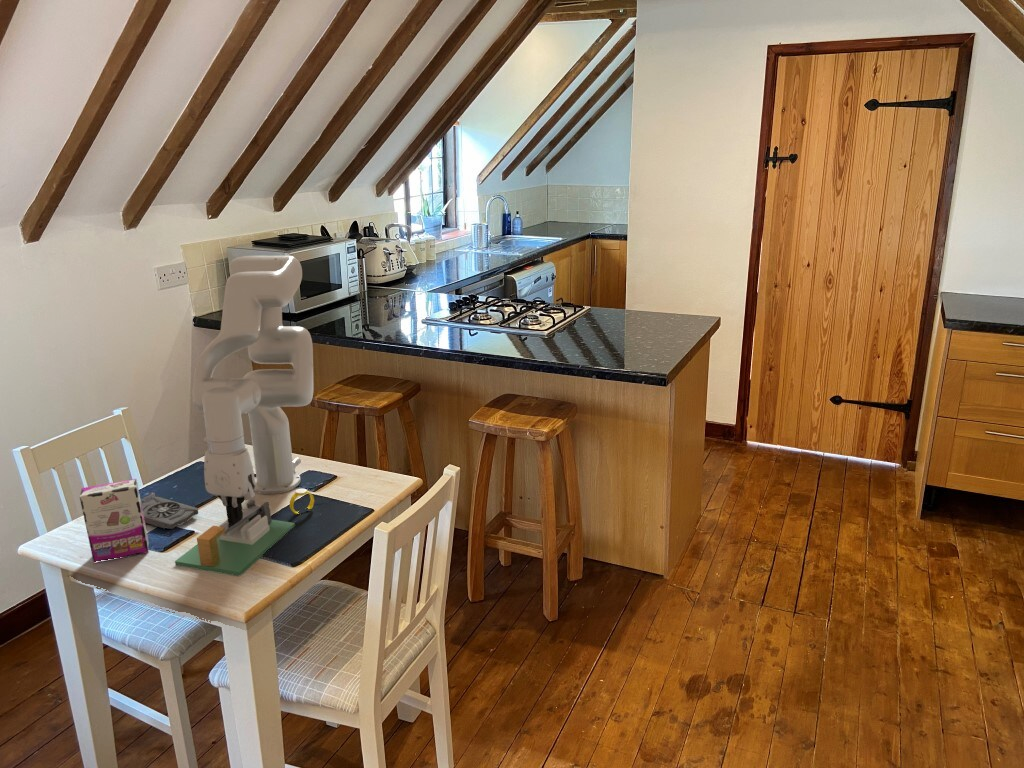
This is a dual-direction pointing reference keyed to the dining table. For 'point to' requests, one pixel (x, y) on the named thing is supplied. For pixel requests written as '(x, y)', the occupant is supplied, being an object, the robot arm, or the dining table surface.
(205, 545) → the block
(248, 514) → the grey long bar
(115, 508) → the candy bar box
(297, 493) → the watch
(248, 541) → the board
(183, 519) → the graphics card
